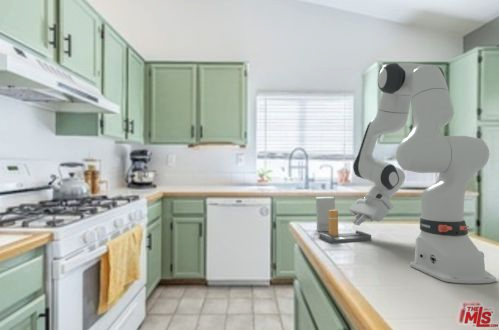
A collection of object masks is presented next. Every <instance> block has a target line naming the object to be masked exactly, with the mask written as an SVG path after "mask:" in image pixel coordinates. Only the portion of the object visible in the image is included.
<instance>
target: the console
mask: <svg viewBox="0 0 499 330" xmlns="http://www.w3.org/2000/svg"><path fill="white" fill-rule="evenodd" d="M338 235H339V237H331V236H328V235H327V234H326V233H324V232H319V239H320V240H323V241H325V242H327V243H329V244H337V243H338V244H339V243H352V242H354V243H355V242H364V241H365V242H366V241H367V242H368V241H372V234H369V233H367V232H364V231H361V230H355V232H349V233H348V232H347V233H338Z"/></svg>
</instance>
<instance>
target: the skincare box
mask: <svg viewBox="0 0 499 330" xmlns="http://www.w3.org/2000/svg"><path fill="white" fill-rule="evenodd" d="M335 200H336V199H335V197H334V196H316V197H315V206H316V207H315V210H316V213H315V214H316V216H315V217H316V218H315V219H316V230H317V232H319V233H323V232H329V221H328V210H336V208H335V207H336V206H335V205H336V203H335V202H336V201H335Z"/></svg>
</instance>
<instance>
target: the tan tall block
mask: <svg viewBox="0 0 499 330" xmlns="http://www.w3.org/2000/svg"><path fill="white" fill-rule="evenodd" d="M328 221H329V231H328V233H327V234H326V235H328V236H331V237H339V235H338V234H339V210H338V209H335V210H328Z"/></svg>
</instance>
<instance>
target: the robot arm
mask: <svg viewBox="0 0 499 330" xmlns="http://www.w3.org/2000/svg"><path fill="white" fill-rule="evenodd" d="M444 72H445V71H444V70H443V68H441V67H440V66H437V65H434V64H423V63H416V62H415V63H414V62H398V63H397V62H391V63H386V64H384V65H383V66H382V67H381V69H380V70H379V72H378V76H377V85H378V88H379V90H380V91H381V92H382V93H381V95H380V99H379V100H380V101H379V103H378V109H377V113H376V115H375V117H374V118H373V119H372V120H371V121H369V122H368V125H367V126H366V129H365V131H364V135H363V137H362V140H361V144H360V148H359V150H358V154H357V156H356V157H355V160H354V161H353V166H352V168H353V169H352V170H353V172H354V175H355V176H356V177H358V178H360V179H364V180H367V181H369V182H372V183H374V185H373V186H372V187H371V188H370V189H369V191H368V192H366V194H365V195H364V197H362V198H358V199H356V201H354V203H352V204H351V205H350V206H349V208H348V212H349V213H350V214H351V215H353V216H355V217H354V220H352V223H353V224H354V225H356V226H360V225H361V224H362V223H364V222H366V221H367V220H370V221H376V222H380V221H382V220H384V219H385V217H386V216H387V215H388V213H389V212H390V211H391V210H392V209H393V208H394V205H393V203H391V202H390V200H391V199H392V197H393V196H394V195H396V194H397V192H398V191H399V190H400V189H401V188H402V185H403V184H404V181H406V174H405V173H404V171H408V172H412V173H418V174H419V173H420V174H424V173H425V174H428V173H429V174H434V173H437V174H438V173H439V174H438V177H437V180H436V181H435V183H434V184H432V185H429V186H427V187H426V188H425V189H424V190H423V191H422V193H421V195H420V199H421V201H420V202H421V207H420V208H421V211H420V212H421V216H420V219H419V230H420V233H419V235H418V236H417V237H416V238H415V248H414V261H411V262H410V267H411V268H413V269H416V270H417V271H420V272H423V273H425V274H426V275H430V276H431V277H433V278H436V279H438V280H441V281H443V282H447V283H454V284H472V285H474V284H491V283H495V282H497V277H496V276H495V275H494V274H491V273H490V272H489V271H487V270H486V265H485V264H486V262H485V253H484V252H483V251H482V250H481V251H480V250H479V249H478V248H477V246H476V245H475V243H474V242H473V241H472V239H471V238H470V237H469V235H468V234H469V230H470V229H469V225H467V223H466V220H465V218H464V215H465V214H464V213H465V212H464V211H465V210H464V208H465V207H464V206H465V196H466V191H467V188H468V186H469V184H470V182H471V180H472V178H473V177H474V176H475V175H476V174H477V173H478V172H479V171H480V170H482V169H483V168H484V167H485V166H486V165H487V164H488V162H489V159H490V150H489V146H488V145H487V143H486V141H484V140H483V139H481V138H479V137H473V136H468V135H442V134H441V133H440V129H442V128H443V127H445V126H446V125H448V124H449V123H450V122H451V121H452V119H453V117H454V114H455V113H454V109H453V108H454V107H453V103H452V100H451V99H452V98H451V93H450V90H449V87H448V84H447V81H446V78H445V73H444ZM410 106H411V110H412V111H411V112H412V118H413V119H412V120H413V121H412V128H411V131H410V133H409V134H408V135H407V137H405V138H404V139H403V140H401V142H400V143H399V145H398V146H397V148H396V153H395V158H396V160H397V161H396V162H397V164H398V165H399V166H398V167H397V166H395V165H394V164H392V163H390V162H387V161H385V160H380V159H378V158H376V157H374V155H373V152H374V150H375V147H376V144H377V140H378V138H379V137H380V136H381V135H385V134H392V133H393V134H394V133H397V132H399V131H400V130H401V129H403V128H404V127H405V126H406V124H407V121H408V119H409V114H410ZM402 169H403V170H404V171H403V170H402Z"/></svg>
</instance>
